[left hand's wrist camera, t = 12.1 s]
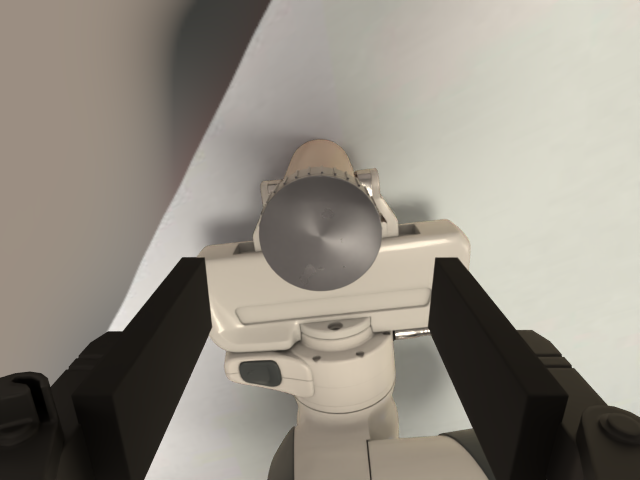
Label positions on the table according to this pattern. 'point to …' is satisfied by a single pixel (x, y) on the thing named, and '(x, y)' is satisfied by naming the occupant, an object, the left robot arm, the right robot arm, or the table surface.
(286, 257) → the lid
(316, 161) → the jar
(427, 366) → the table surface
